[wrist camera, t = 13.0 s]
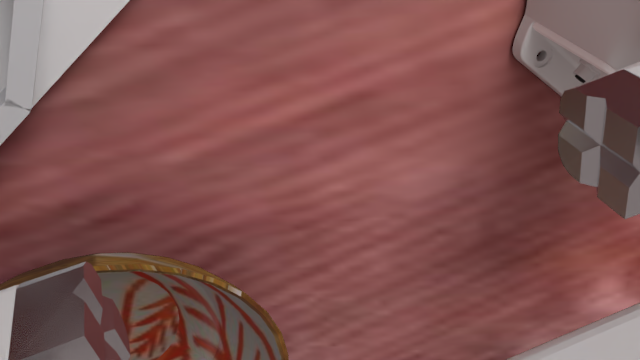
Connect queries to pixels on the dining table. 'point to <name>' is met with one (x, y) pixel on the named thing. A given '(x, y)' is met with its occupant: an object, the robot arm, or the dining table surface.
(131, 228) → the dining table surface
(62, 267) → the bowl
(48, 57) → the carrier board
